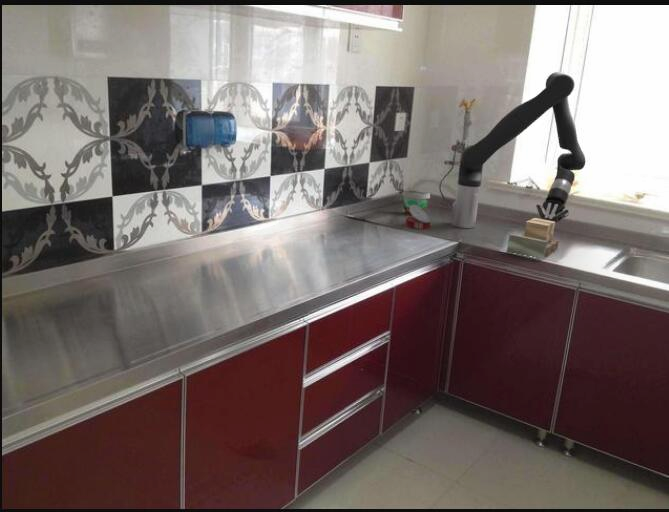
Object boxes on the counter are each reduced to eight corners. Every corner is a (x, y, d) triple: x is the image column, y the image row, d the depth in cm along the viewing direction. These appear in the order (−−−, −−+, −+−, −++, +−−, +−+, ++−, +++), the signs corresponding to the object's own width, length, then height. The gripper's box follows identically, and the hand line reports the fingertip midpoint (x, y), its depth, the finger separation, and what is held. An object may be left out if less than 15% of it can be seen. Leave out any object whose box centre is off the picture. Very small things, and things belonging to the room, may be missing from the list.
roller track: (523, 242, 248) (526, 225, 246) (557, 249, 242) (560, 232, 240) (506, 252, 232) (509, 234, 230) (542, 259, 225) (545, 242, 223)
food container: (399, 214, 279) (401, 192, 277) (400, 211, 285) (402, 189, 282) (427, 217, 278) (430, 195, 275) (428, 215, 283) (430, 192, 281)
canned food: (420, 235, 266) (432, 214, 265) (426, 238, 256) (440, 217, 256) (397, 221, 264) (410, 200, 263) (403, 224, 254) (416, 203, 253)
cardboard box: (531, 235, 246) (534, 217, 244) (552, 239, 242) (555, 221, 240) (523, 240, 238) (526, 221, 236) (545, 244, 234) (548, 225, 232)
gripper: (541, 184, 253) (527, 219, 246) (575, 190, 247) (562, 225, 240) (542, 196, 259) (529, 230, 252) (576, 201, 252) (563, 237, 246)
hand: (545, 228), depth 246 cm, fingers closed
